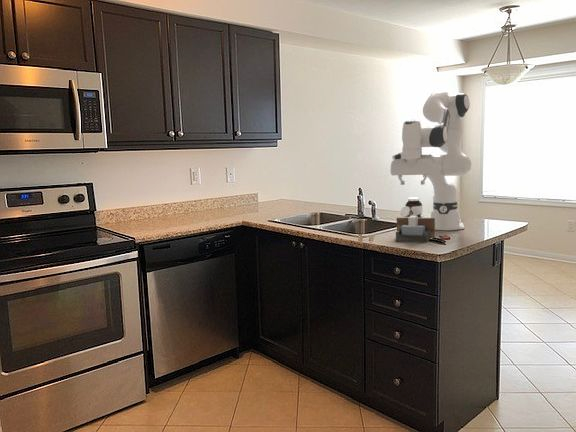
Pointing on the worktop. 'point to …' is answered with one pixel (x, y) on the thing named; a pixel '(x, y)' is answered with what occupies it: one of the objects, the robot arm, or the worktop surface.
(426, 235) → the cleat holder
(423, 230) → the grey stepped block
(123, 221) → the worktop surface
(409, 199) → the spread jar
